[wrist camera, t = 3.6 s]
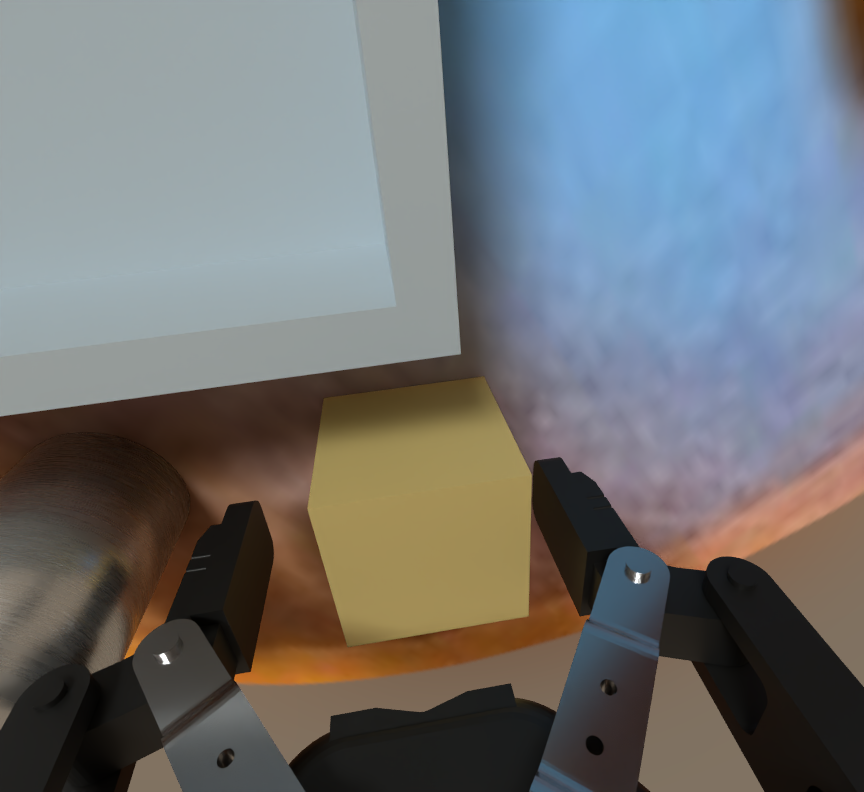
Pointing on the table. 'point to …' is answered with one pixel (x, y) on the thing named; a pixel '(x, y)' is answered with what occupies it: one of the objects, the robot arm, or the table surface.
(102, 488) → the metal cylinder
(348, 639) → the ochre cube
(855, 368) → the table surface
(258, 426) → the table surface
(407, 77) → the tote
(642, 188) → the table surface
